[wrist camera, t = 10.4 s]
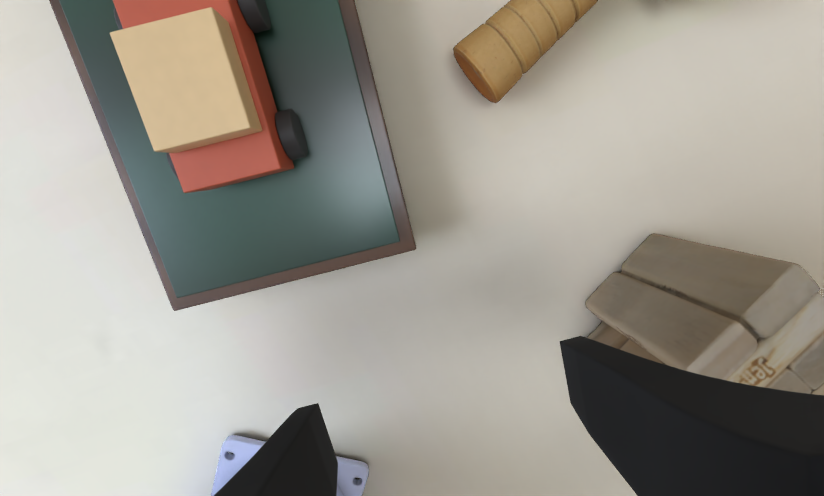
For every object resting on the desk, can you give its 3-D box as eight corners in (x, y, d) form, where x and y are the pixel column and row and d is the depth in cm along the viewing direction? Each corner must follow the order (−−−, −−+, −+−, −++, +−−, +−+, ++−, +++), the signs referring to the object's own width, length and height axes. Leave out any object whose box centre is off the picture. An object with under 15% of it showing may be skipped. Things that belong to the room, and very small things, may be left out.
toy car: (313, 164, 16) (290, 164, 12) (202, 192, 16) (144, 200, 12) (257, -25, 14) (211, -93, 11) (135, 5, 14) (45, -52, 11)
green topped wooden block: (413, 239, 20) (417, 251, 17) (200, 293, 20) (167, 314, 17) (321, -126, 16) (307, -189, 14) (65, -62, 16) (-5, -112, 14)
